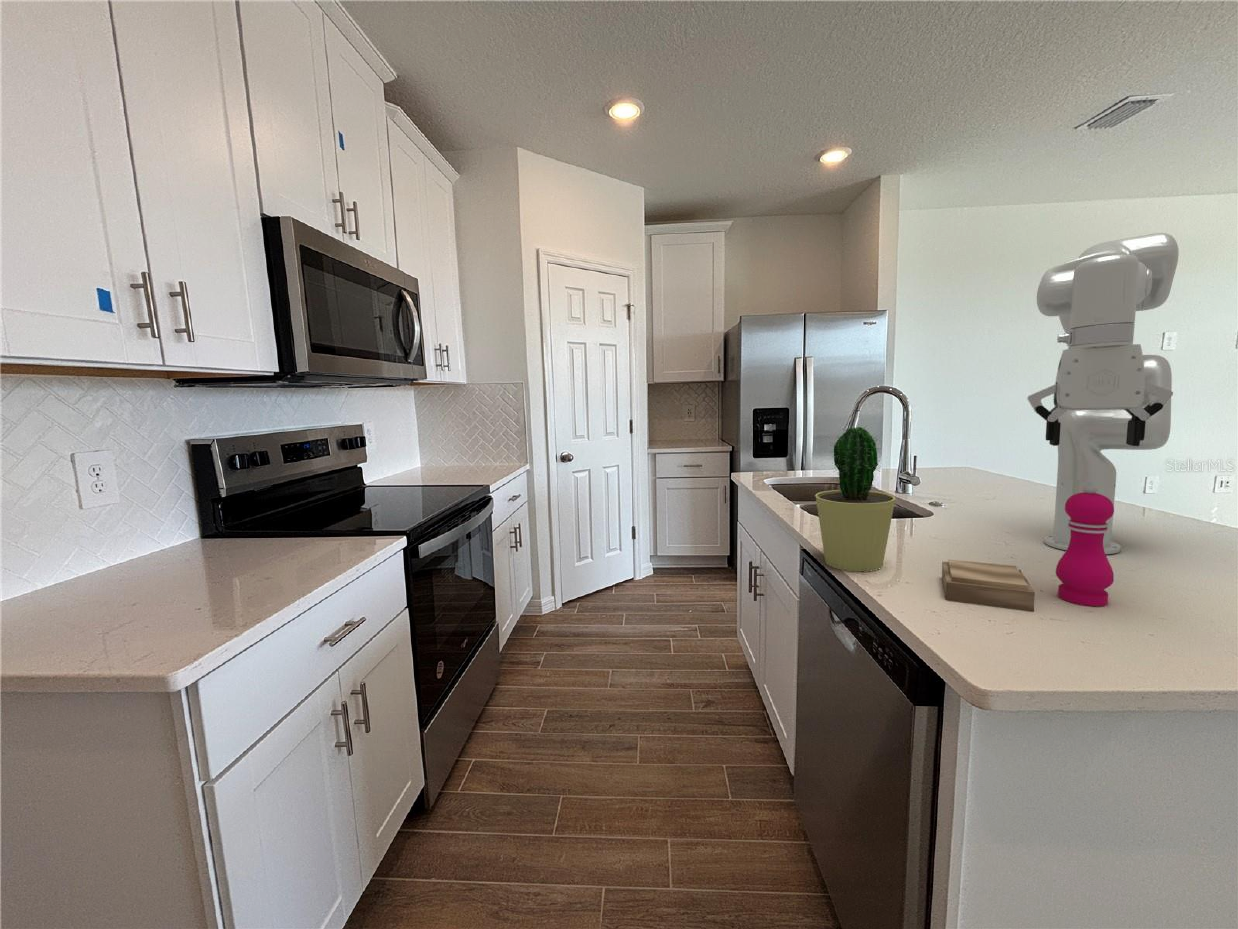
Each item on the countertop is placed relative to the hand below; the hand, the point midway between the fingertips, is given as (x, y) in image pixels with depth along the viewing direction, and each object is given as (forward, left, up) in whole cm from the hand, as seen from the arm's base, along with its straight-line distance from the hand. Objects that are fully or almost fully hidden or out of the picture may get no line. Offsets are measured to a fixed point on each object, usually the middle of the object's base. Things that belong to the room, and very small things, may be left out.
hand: (1092, 445), depth 82 cm
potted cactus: (-6, -36, -27) cm, 45 cm away
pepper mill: (0, 0, -27) cm, 27 cm away
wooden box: (+3, -14, -26) cm, 30 cm away
